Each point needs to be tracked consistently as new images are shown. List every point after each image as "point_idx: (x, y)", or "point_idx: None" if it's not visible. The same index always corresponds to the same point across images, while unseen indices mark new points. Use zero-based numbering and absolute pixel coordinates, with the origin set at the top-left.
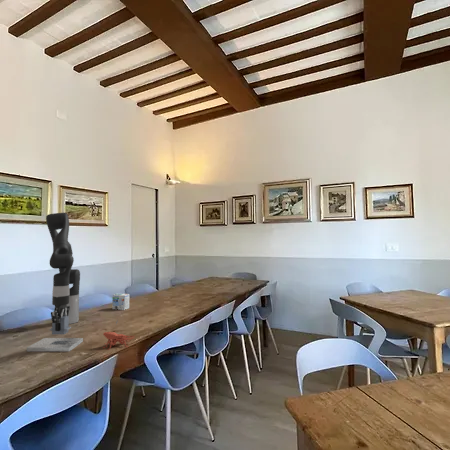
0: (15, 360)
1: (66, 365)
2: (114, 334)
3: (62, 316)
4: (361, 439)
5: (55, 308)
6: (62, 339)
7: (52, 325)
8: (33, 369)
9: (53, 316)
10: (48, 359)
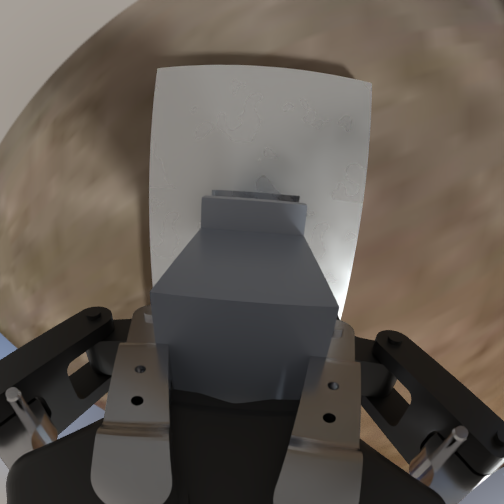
0: (52, 117)
1: None
2: None
3: None
4: None
5: (15, 500)
6: (325, 235)
7: (189, 246)
8: (5, 258)
9: (27, 382)
10: (68, 269)
